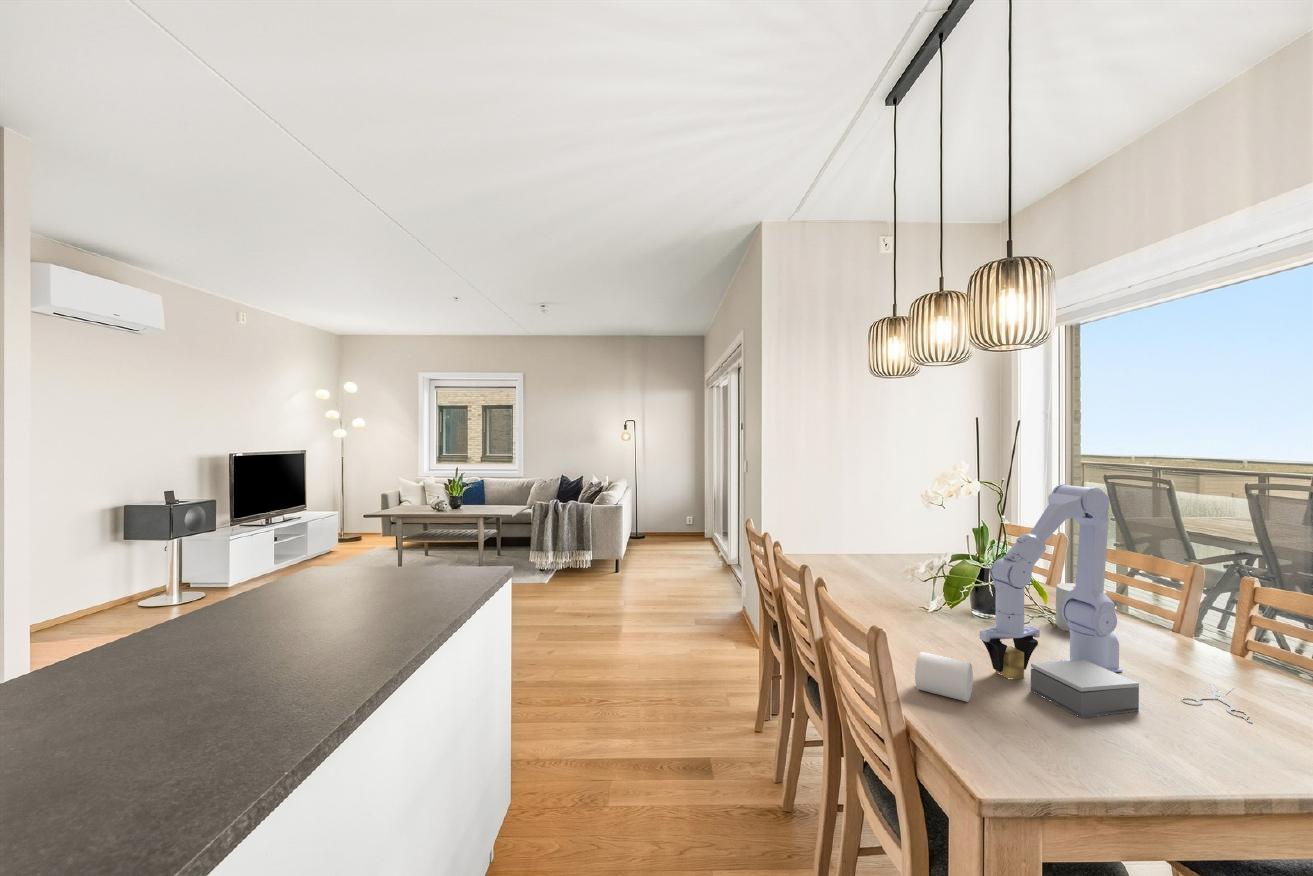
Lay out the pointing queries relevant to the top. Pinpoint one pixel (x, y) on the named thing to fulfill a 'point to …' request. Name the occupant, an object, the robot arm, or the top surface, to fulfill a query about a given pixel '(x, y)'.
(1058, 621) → the toilet paper roll
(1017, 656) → the block
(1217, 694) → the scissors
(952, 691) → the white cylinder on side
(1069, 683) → the lid
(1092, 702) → the box
